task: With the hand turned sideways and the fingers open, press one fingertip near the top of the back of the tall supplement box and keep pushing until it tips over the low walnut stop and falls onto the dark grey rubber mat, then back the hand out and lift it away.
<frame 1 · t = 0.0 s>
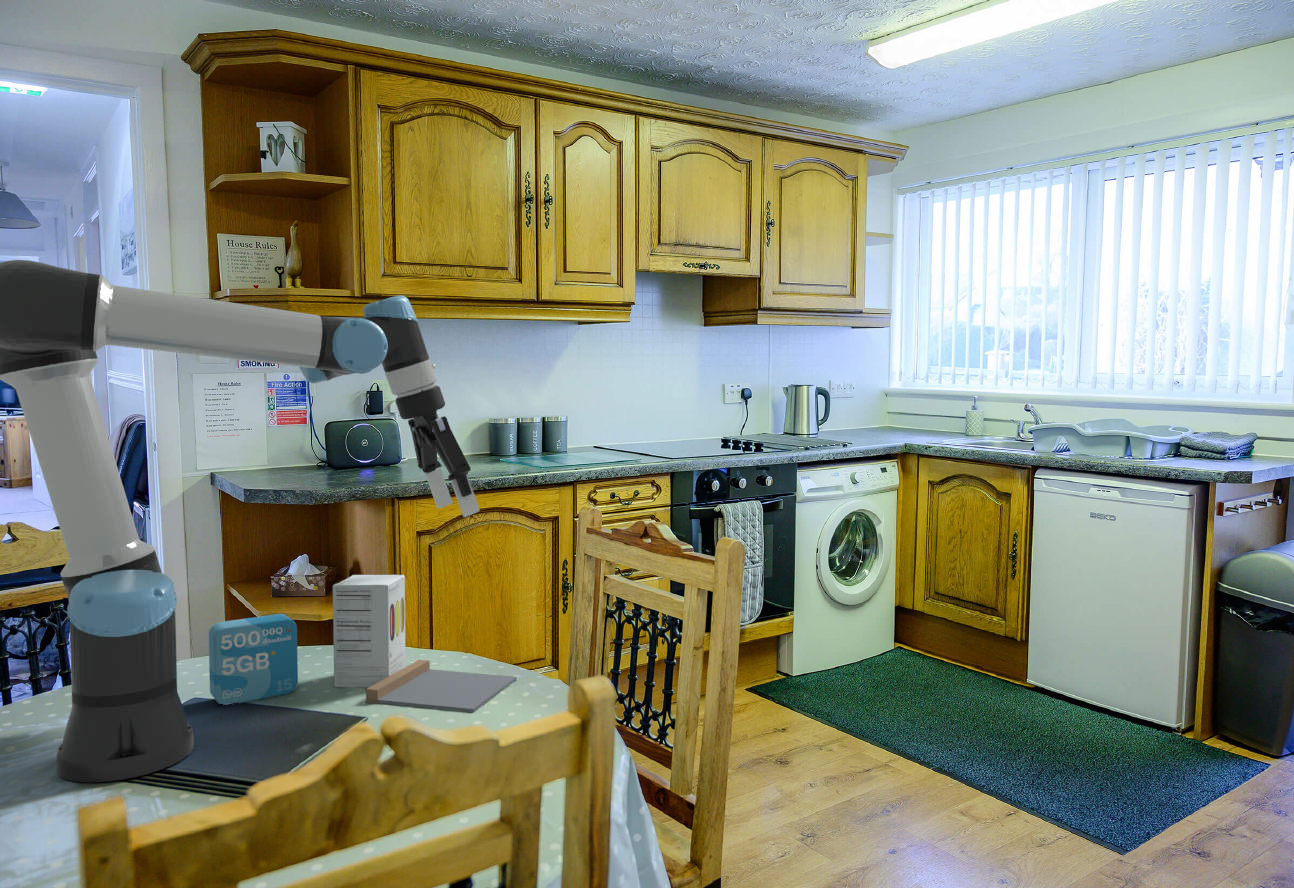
hand: (457, 509, 148), 28 cm above the table, tool tilted 20°, fingers open, 13 cm apart
data package: (254, 697, 137), on the table
supplement box: (371, 680, 145), on the table
topple mat: (444, 690, 140), on the table
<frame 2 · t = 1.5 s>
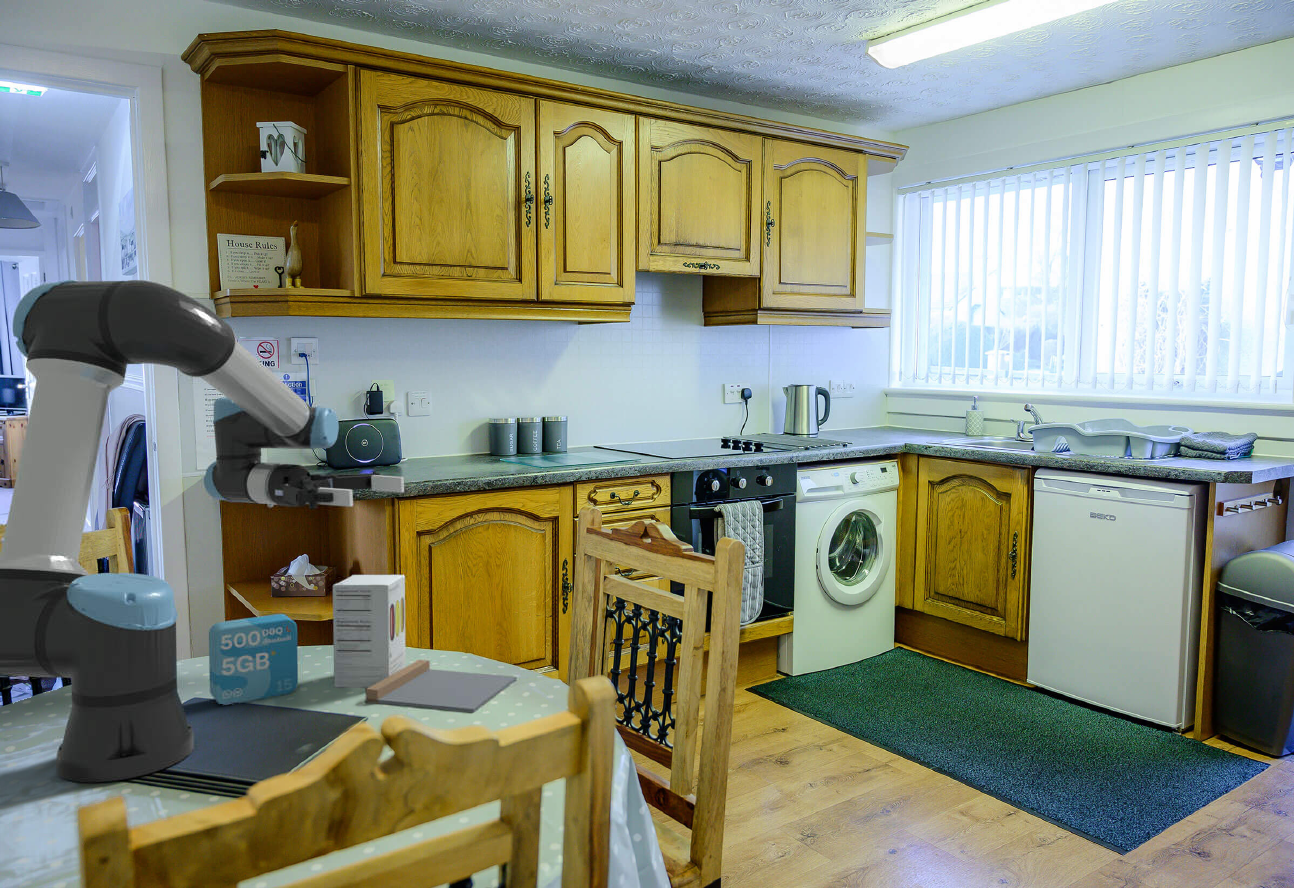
hand: (378, 491, 150), 31 cm above the table, tool horizontal, fingers open, 13 cm apart
nothing on the table moved.
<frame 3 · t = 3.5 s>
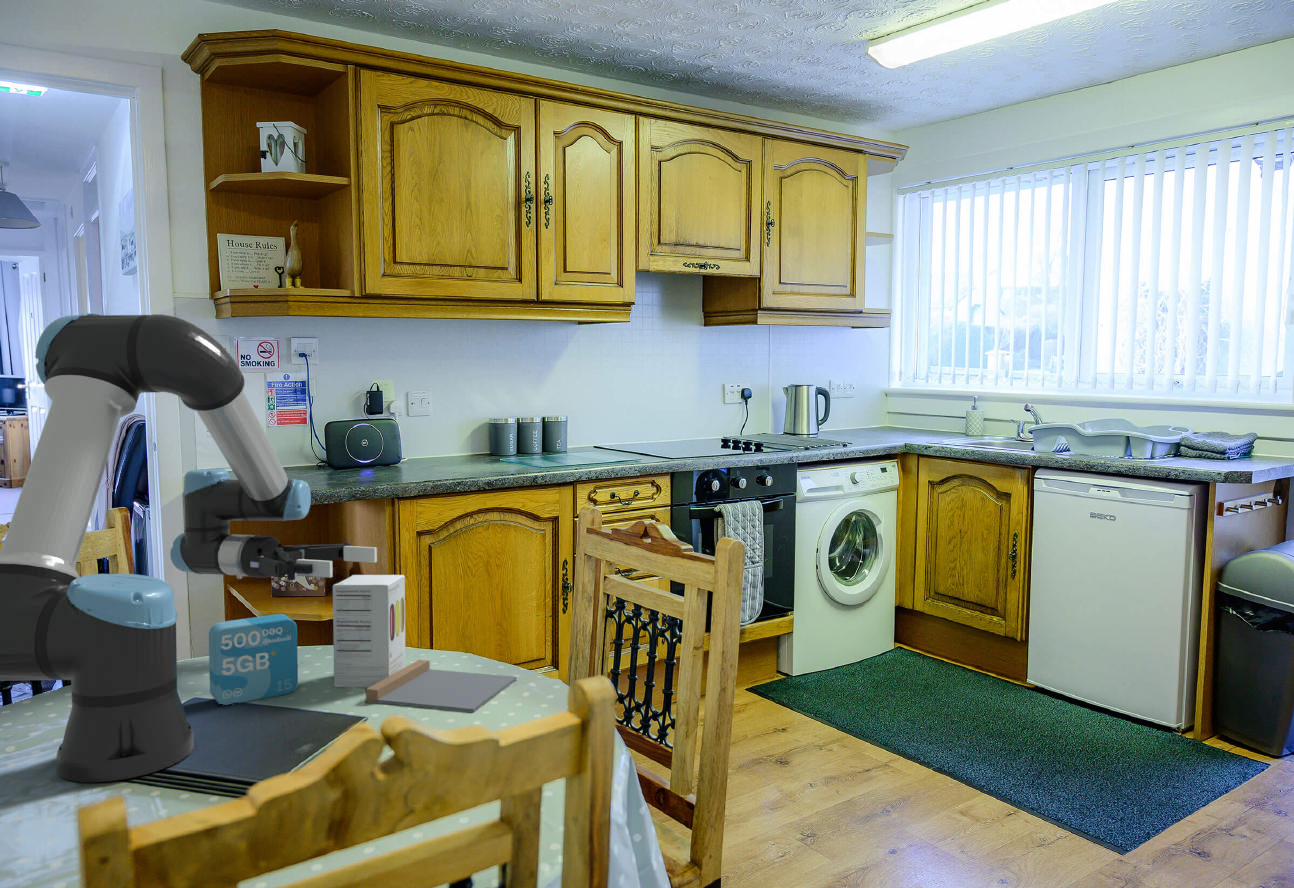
hand: (354, 561, 155), 18 cm above the table, tool horizontal, fingers open, 13 cm apart
nothing on the table moved.
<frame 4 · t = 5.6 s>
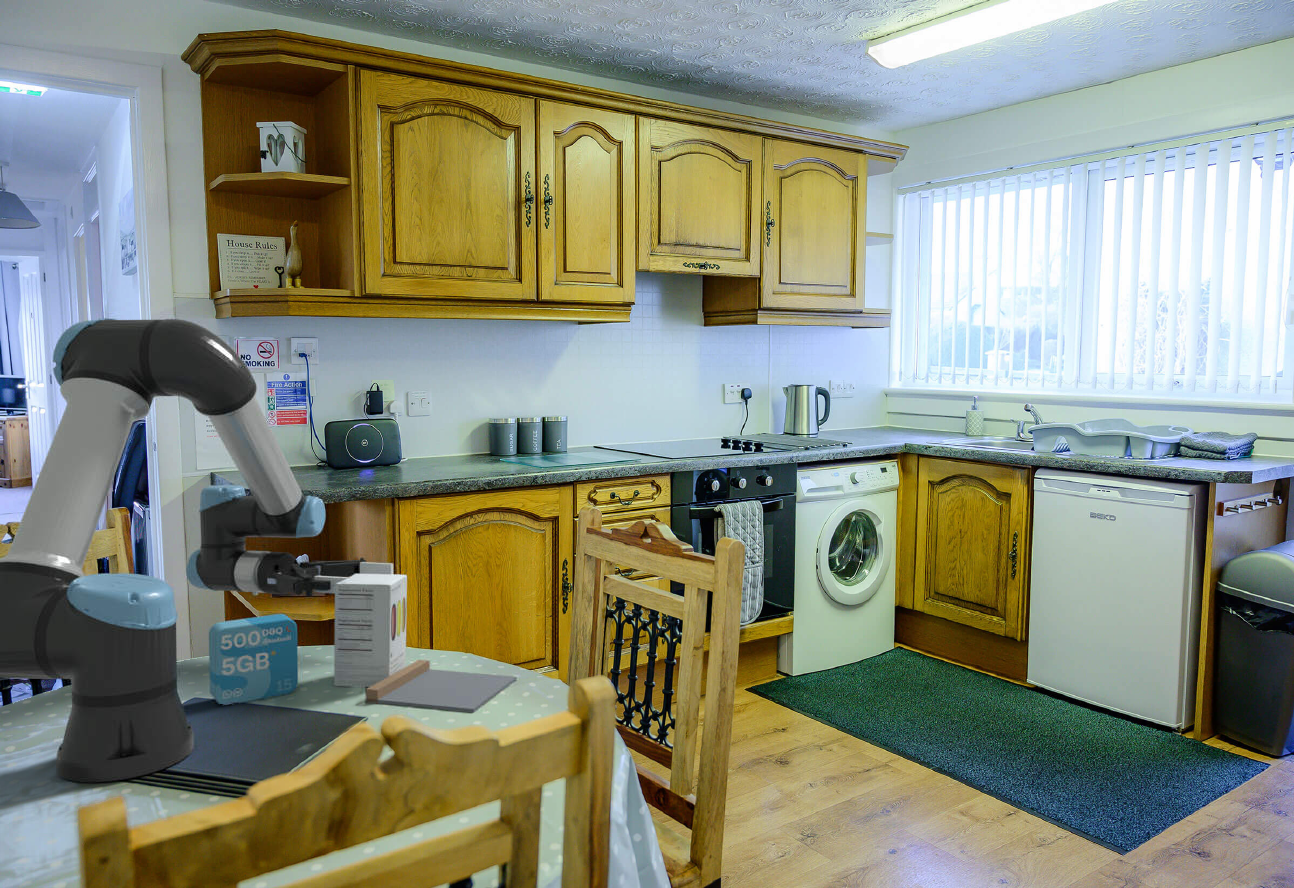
hand: (371, 578, 154), 15 cm above the table, tool horizontal, fingers open, 13 cm apart
supplement box: (371, 679, 145), on the table, touching gripper
everything else where it was.
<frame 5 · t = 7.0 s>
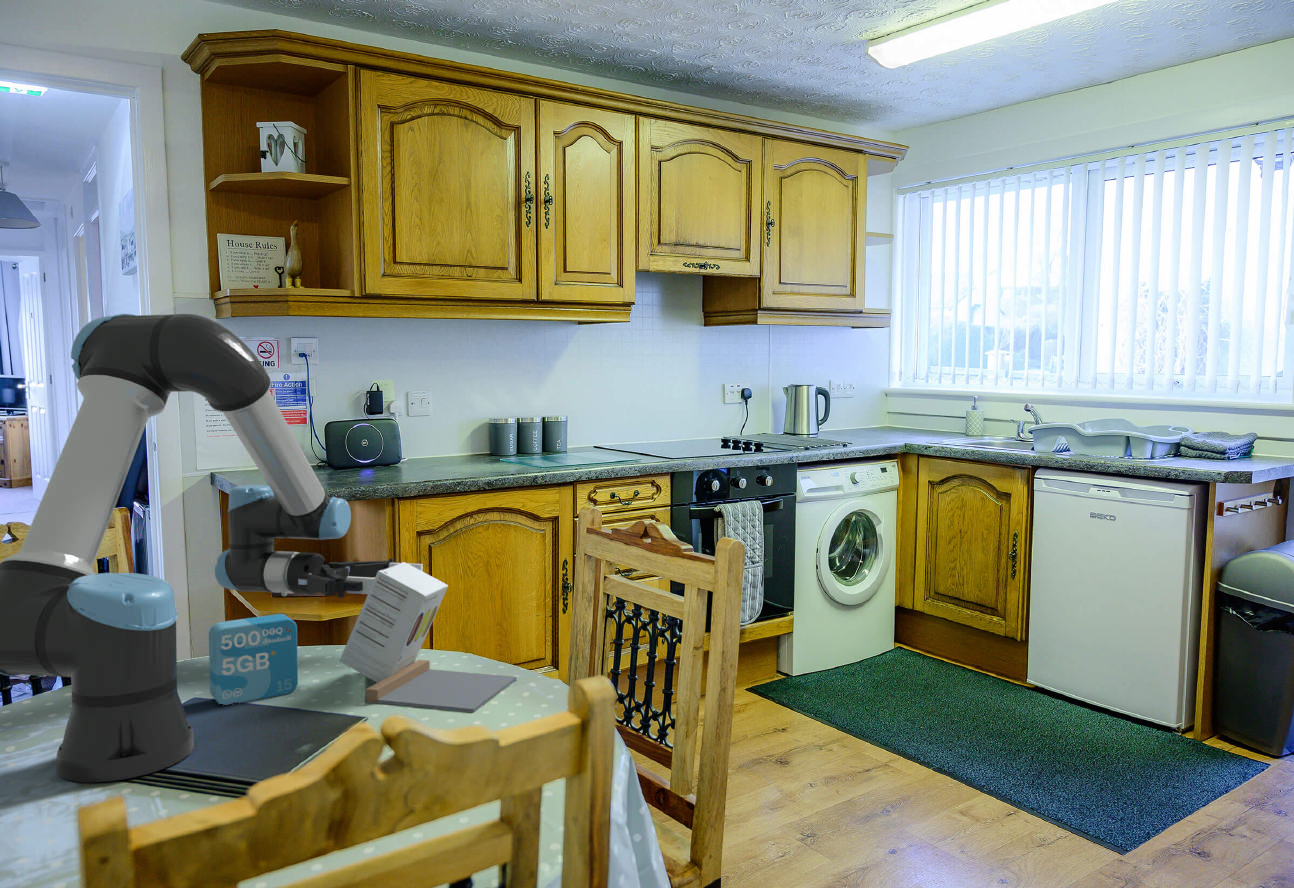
hand: (402, 578, 154), 15 cm above the table, tool horizontal, fingers open, 13 cm apart
supplement box: (375, 667, 146), point 2 cm above the table, touching gripper
everything else where it was.
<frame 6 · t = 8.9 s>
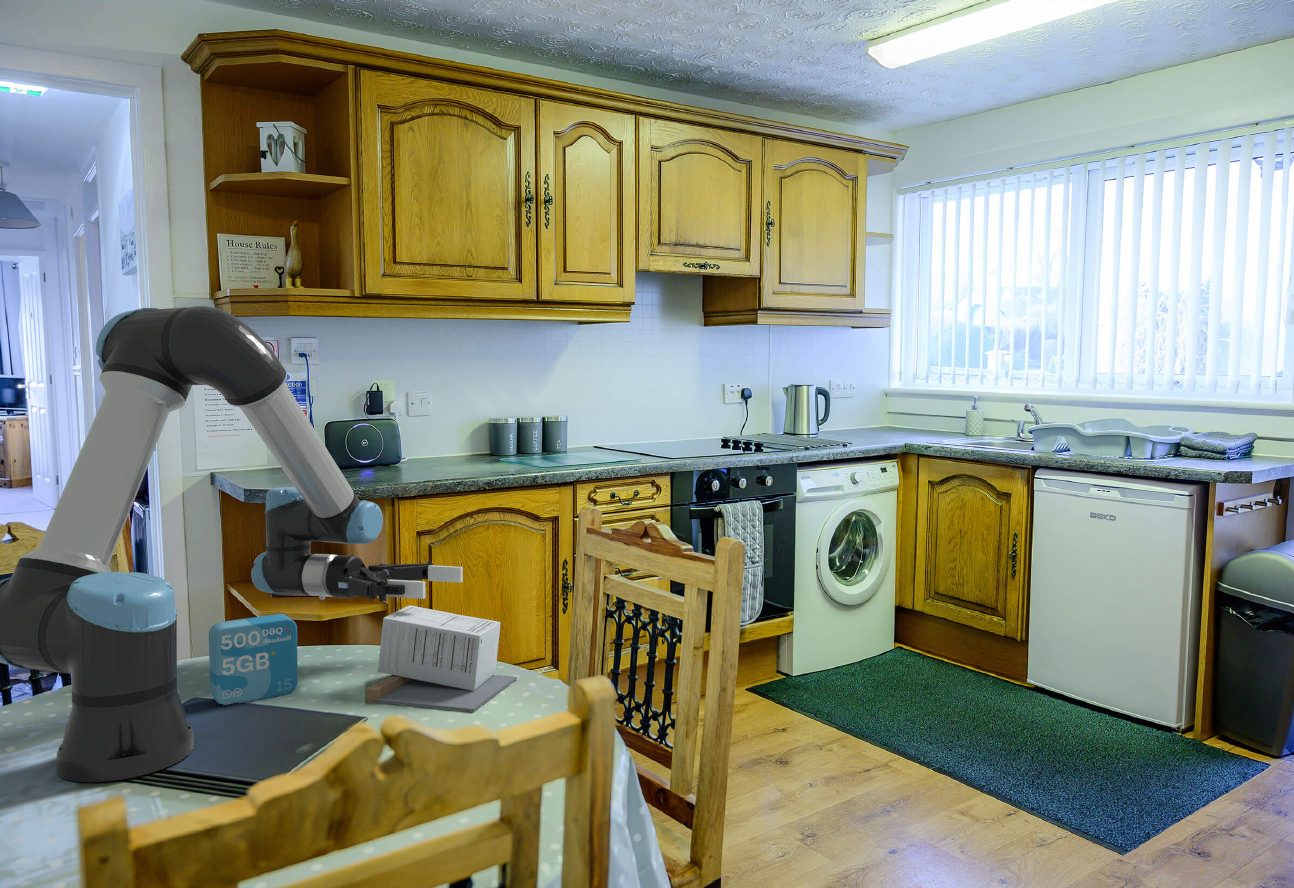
hand: (444, 582, 151), 15 cm above the table, tool horizontal, fingers open, 13 cm apart
supplement box: (392, 637, 145), point 7 cm above the table, touching topple mat
everything else where it was.
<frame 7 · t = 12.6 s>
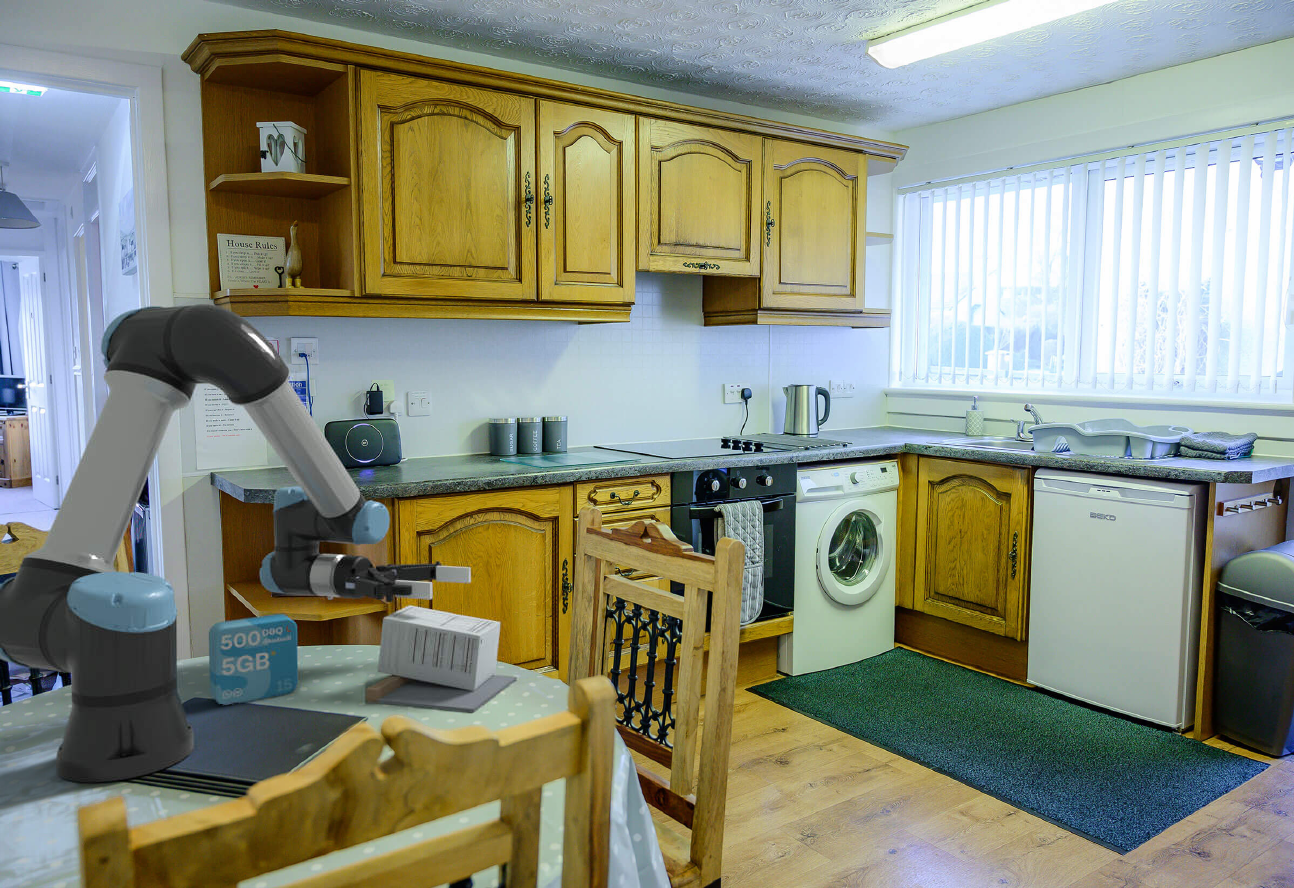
hand: (451, 582, 150), 15 cm above the table, tool horizontal, fingers open, 13 cm apart
nothing on the table moved.
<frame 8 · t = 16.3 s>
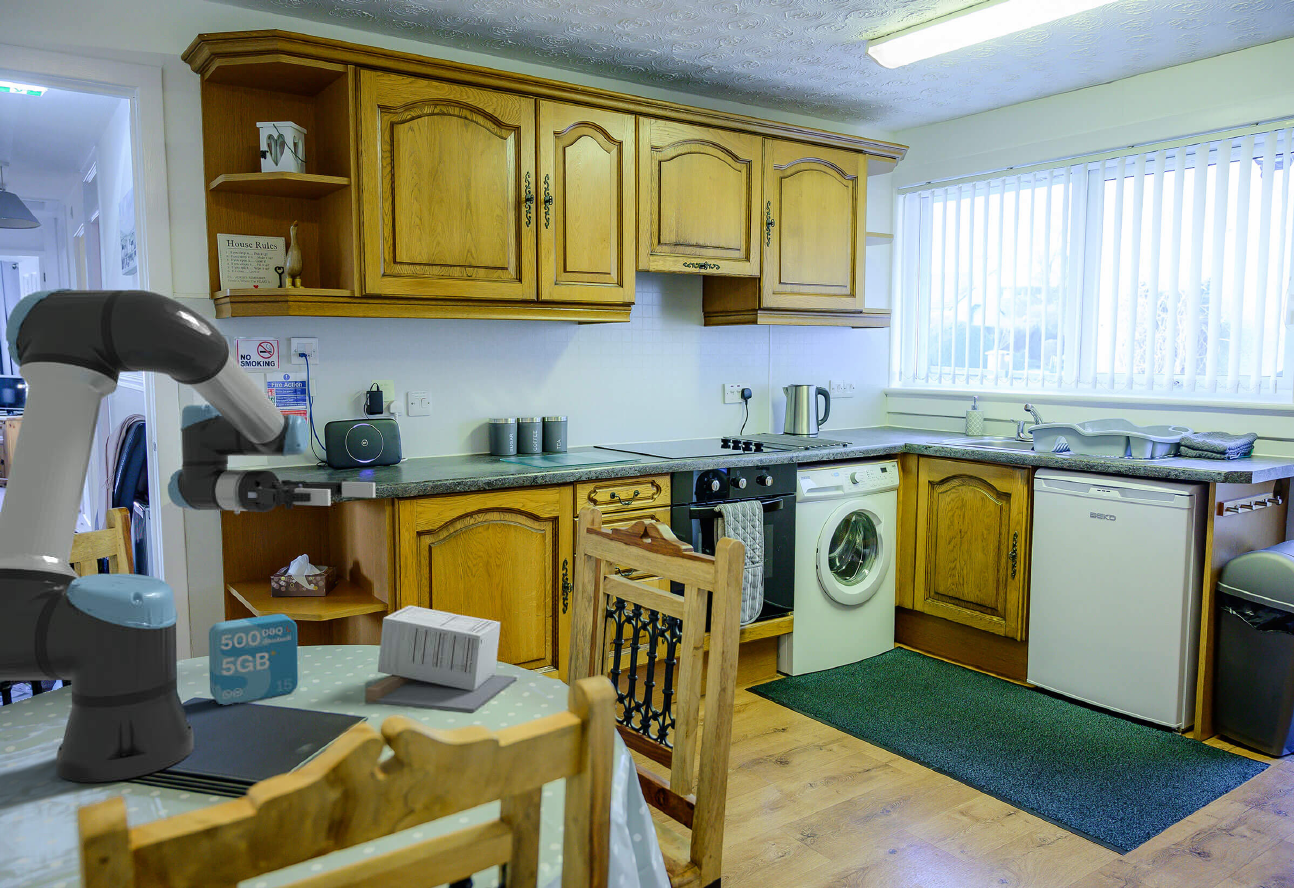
hand: (352, 493, 154), 30 cm above the table, tool horizontal, fingers open, 13 cm apart
nothing on the table moved.
at the end: supplement box tilted 97°; supplement box touching topple mat; the gripper is holding nothing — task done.
